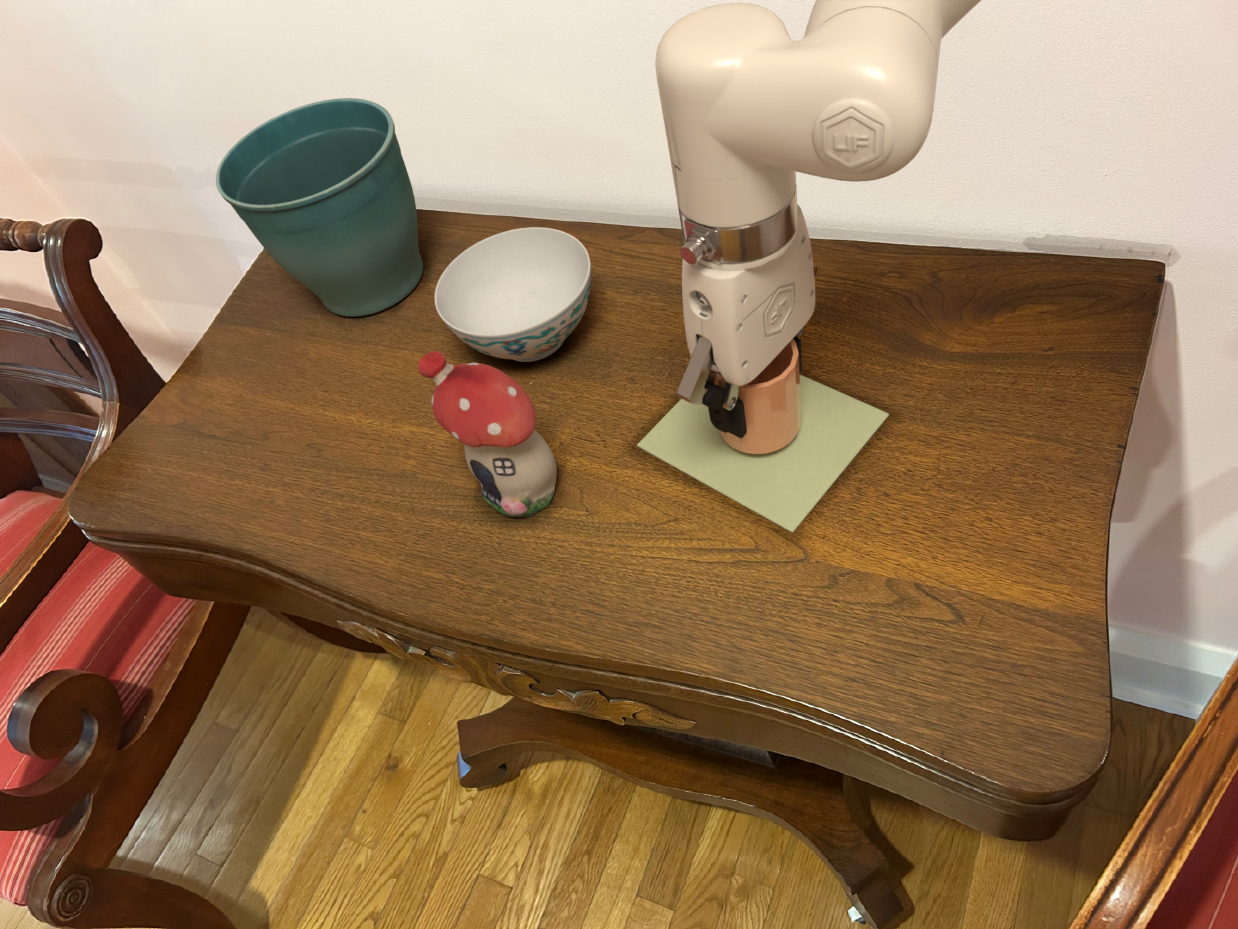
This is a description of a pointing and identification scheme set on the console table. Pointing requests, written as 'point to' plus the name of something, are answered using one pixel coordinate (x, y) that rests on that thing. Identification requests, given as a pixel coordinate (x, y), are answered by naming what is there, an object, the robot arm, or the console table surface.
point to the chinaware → (516, 292)
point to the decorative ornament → (494, 433)
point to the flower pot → (330, 202)
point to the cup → (770, 405)
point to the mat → (778, 478)
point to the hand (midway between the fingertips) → (756, 397)
